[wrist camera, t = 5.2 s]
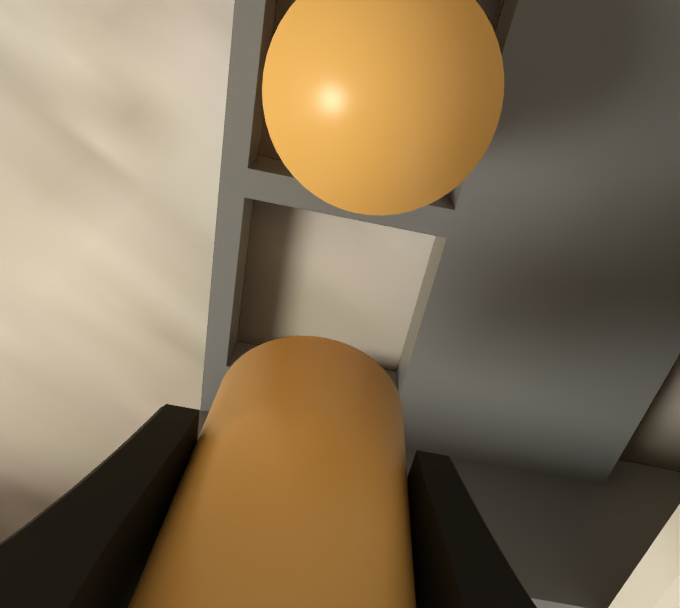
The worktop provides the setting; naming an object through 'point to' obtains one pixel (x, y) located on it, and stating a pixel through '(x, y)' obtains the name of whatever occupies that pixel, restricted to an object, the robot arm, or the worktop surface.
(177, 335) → the worktop surface
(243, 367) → the peg
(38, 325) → the worktop surface
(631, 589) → the lid
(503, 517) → the housing
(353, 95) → the orange rounded cylinder
